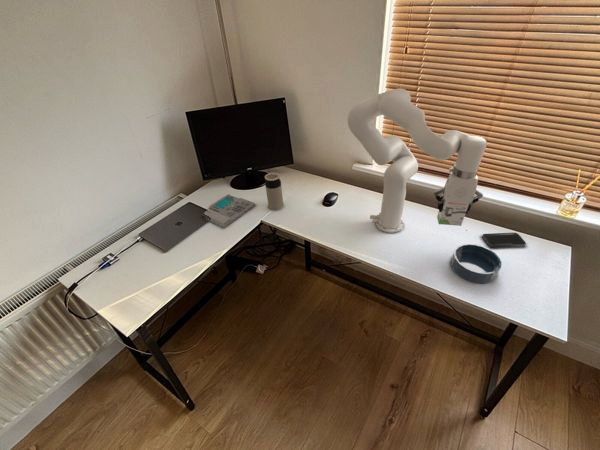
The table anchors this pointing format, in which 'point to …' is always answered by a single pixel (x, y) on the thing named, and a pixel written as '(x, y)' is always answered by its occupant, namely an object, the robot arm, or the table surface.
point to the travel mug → (274, 191)
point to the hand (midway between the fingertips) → (452, 210)
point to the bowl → (475, 263)
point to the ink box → (452, 213)
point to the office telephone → (228, 210)
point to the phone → (503, 240)
